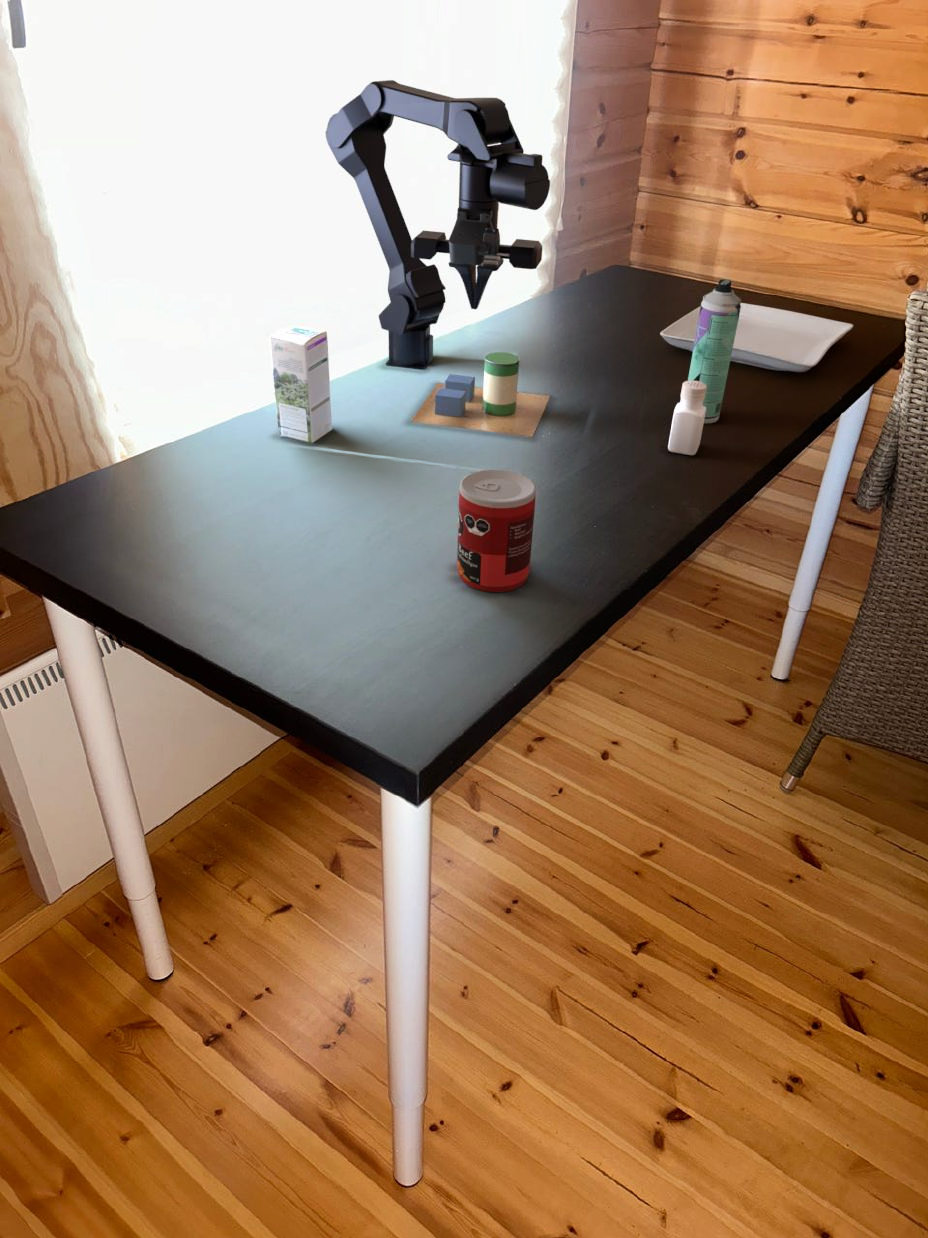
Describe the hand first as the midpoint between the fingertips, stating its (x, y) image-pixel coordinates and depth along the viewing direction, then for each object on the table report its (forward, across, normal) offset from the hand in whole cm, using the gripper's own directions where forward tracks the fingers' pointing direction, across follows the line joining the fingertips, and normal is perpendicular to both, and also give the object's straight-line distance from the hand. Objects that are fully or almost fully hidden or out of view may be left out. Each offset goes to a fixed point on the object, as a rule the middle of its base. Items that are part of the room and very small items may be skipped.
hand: (474, 308), depth 145 cm
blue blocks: (+12, 0, -10) cm, 15 cm away
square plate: (+12, +45, +34) cm, 57 cm away
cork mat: (+12, +4, -10) cm, 16 cm away
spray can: (+12, +36, -2) cm, 38 cm away
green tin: (+11, +3, -10) cm, 15 cm away
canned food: (+12, +15, -55) cm, 58 cm away
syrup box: (+12, -18, -26) cm, 34 cm away
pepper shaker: (+12, +34, -15) cm, 39 cm away
